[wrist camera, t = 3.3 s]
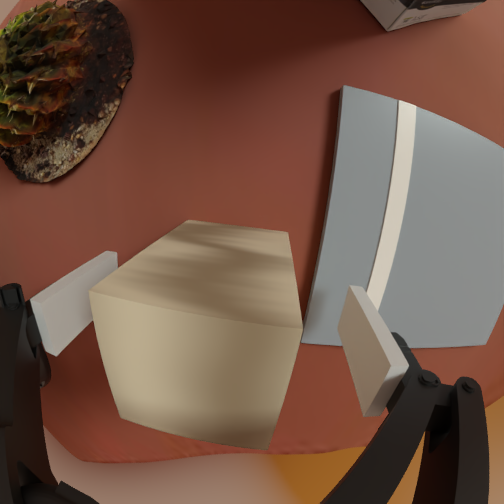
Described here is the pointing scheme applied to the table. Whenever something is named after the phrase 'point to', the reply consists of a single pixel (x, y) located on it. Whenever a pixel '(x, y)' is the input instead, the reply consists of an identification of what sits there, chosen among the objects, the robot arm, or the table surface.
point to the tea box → (416, 10)
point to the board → (410, 225)
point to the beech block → (202, 332)
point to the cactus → (60, 84)
